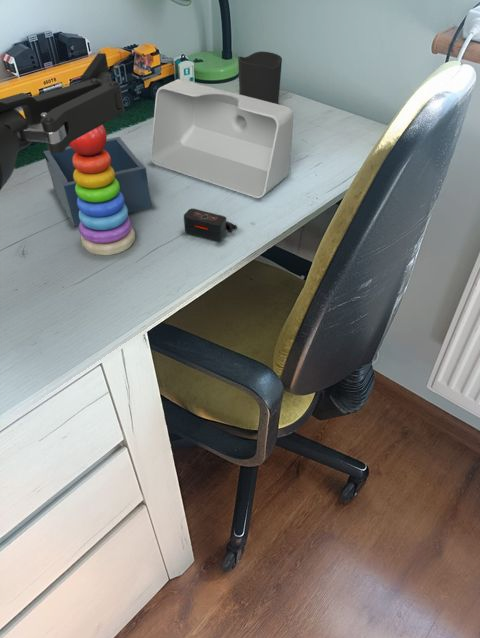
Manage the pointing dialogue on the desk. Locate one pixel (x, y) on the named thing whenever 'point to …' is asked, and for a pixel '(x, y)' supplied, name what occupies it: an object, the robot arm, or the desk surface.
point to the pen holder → (260, 76)
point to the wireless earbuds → (207, 225)
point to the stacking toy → (99, 197)
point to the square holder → (126, 173)
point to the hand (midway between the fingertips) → (36, 65)
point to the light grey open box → (222, 137)
